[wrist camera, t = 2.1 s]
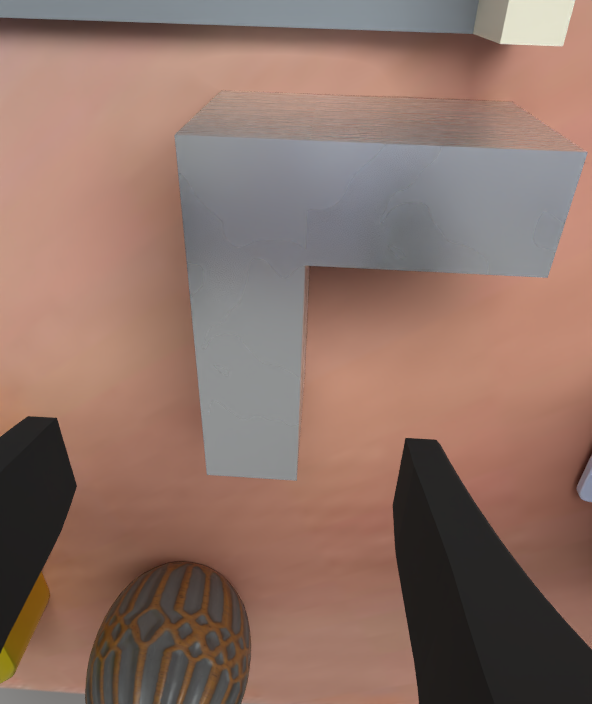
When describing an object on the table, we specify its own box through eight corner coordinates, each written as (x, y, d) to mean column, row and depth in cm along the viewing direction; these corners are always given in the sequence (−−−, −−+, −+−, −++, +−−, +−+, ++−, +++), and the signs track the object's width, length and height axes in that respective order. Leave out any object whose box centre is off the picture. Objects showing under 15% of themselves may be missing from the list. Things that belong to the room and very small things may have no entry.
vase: (93, 580, 27) (6, 797, 20) (177, 521, 24) (110, 751, 17) (200, 637, 30) (156, 848, 22) (288, 590, 27) (270, 816, 19)
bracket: (447, 381, 19) (478, 492, 15) (234, 369, 19) (207, 474, 15) (512, 102, 14) (587, 152, 10) (221, 90, 14) (174, 134, 10)
